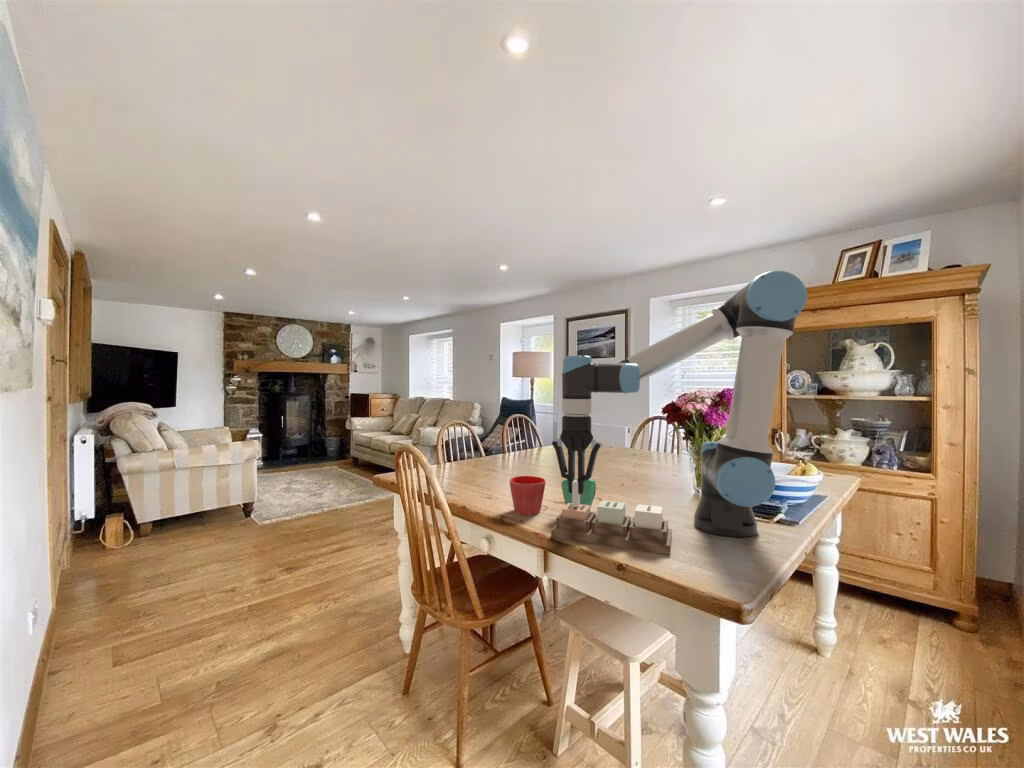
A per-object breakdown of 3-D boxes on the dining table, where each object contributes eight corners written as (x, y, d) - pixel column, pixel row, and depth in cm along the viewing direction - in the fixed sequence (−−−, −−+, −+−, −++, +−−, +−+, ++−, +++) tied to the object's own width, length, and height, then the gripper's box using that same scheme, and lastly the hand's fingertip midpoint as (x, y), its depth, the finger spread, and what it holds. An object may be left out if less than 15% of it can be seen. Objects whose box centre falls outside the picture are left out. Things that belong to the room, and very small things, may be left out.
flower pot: (546, 517, 122) (546, 483, 122) (509, 517, 122) (509, 483, 122) (544, 506, 133) (544, 475, 133) (509, 506, 133) (509, 475, 133)
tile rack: (671, 537, 106) (671, 519, 106) (670, 554, 95) (670, 534, 95) (563, 522, 117) (564, 506, 117) (551, 537, 106) (551, 519, 106)
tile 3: (590, 520, 111) (590, 504, 111) (585, 527, 105) (585, 511, 105) (568, 517, 113) (568, 502, 113) (562, 524, 108) (562, 508, 108)
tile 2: (625, 518, 108) (625, 502, 108) (622, 525, 102) (622, 508, 102) (601, 515, 110) (601, 499, 110) (597, 522, 104) (597, 506, 104)
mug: (586, 524, 115) (586, 488, 115) (555, 518, 121) (555, 483, 121) (607, 511, 127) (607, 478, 127) (578, 506, 133) (578, 474, 133)
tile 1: (662, 523, 104) (662, 506, 104) (661, 530, 99) (661, 513, 99) (637, 520, 106) (637, 503, 106) (634, 527, 101) (634, 510, 101)
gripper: (604, 415, 110) (603, 504, 110) (556, 413, 115) (556, 499, 115) (598, 417, 103) (598, 512, 103) (548, 415, 108) (547, 506, 108)
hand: (576, 505), depth 109 cm, fingers closed
